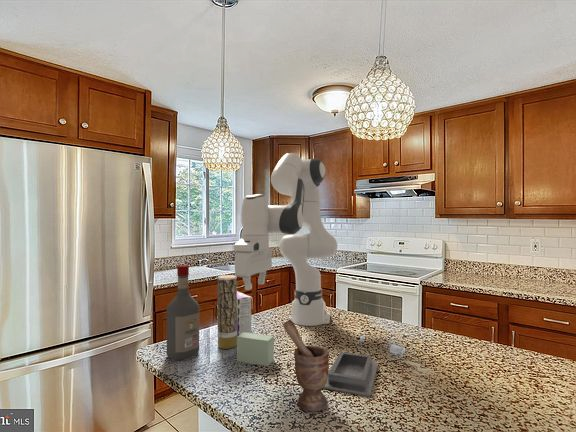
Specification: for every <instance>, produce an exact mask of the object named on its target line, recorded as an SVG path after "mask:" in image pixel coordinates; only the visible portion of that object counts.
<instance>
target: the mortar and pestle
mask: <svg viewBox="0 0 576 432" xmlns="http://www.w3.org/2000/svg"><path fill="white" fill-rule="evenodd" d="M282 326H283V328H284V330H285V332H286V334H287V336H288V337H289V338H290V339H291V341H292V342H293V343H294V346H295V347H296V348H295V349H294V352H293V354H294V355H293V357H294V371H295V372H294V373H295V377H296V380H297V384H298V385H299V386H300V387H301V388H302V390H303V391H301V393H300V394H299V396H298V398H297V406H298V407H299V408H300V409H302V410H304V411H306V412H318V411H319V412H320V411H325V410H326V409H327V407H328V401H327V397H326V395H325V394H324V392H322V390H323V387H324V385H325V384H326V382H327V378H328V372H329V370H330V366H329V365H330V363H329V361H330V360H329V359H330V358H329V357H330V353H329V350H328V349H327V348H326V347H324V346H321V345H315V344H314V345H305V342H304V341H303V339H302V337H301V335H300V332H299V331H298V328H297V327H296V324H295V323H293V322H292V321H291V320H289V319H288V320H287V321H285V322H283V324H282Z"/></svg>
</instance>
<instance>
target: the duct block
mask: <svg viewBox="0 0 576 432" xmlns="http://www.w3.org/2000/svg"><path fill="white" fill-rule="evenodd" d="M274 343H275V336H274V335H270V334H261V333H260V334H259V333H253V332H251V333H245V332H243V333H242V334H240V335H239V336H237V345H236V362H237V363H239V362H240V363H245V364H251V365H257V364H258V366H263V365H264V366H265V367H269V366H270V365H271V364H272V363H273V362H274V361H275V357H274V356H275V354H274V353H275V351H274V350H275V348H274V347H275V344H274Z"/></svg>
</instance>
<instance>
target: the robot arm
mask: <svg viewBox="0 0 576 432" xmlns="http://www.w3.org/2000/svg"><path fill="white" fill-rule="evenodd" d="M325 176H326V166H325V164H324V162H323V161H322V160H321V159H320V158H310V159H308V158H307V159H302V158H301V157H300V156H299V155H298V154H296V153H294V152H293V153H292V152H290V153H286V154H284V155H283V156H282V157H281V158H280V160H279V161H278V162H277V163H276V165H275V166H274V169H273V171H272V172H271V177H270V184H271V186H272V187H273V189H274V190H275V191H276V192H278V193H279V194H281V195H284V196H289V197H290V202H289V203H287V204H280V205H279V204H278V205H275V204H273V205H271V204H269V203H268V198H267V195H265V194H263V193H256V194H247V195H246V196H244V197H243V199H242V203H241V204H242V205H241V215H240V216H241V218H240V219H241V225H242V230H241V238H240V239H239V240H238V241H237V242H236V243H235V244H234V245H233V251H234V252H235V254H234V273H235V276H237V278H238V277H239V278H242V281H243V283H244V290H246V291H251V290H252V289H253V283H251V278H252V276H253V275H256V274H259V276H258V279H257V284H258V285H261V286H262V285H264V284H266V283H265V279H266V276H267V271H269V270H271V269H272V267H273V266H272V265H273V263H272V262H273V260H272V257H273V256H272V251H271V248H270V245H269V243H270V241H269V240H270V238H269V237H270V236H269V235H270V234H284V235H283V236H282V238H281V239H280V241H279V245H278V247H279V252H280V253H281V255H282V256H283V257H284V258H285V259H287V260H288V261H289V263H290V264H291V265H292V268H293V271H294V275H295V289H294V300H292V302H291V315H289V316H288V318H287V319H288V320H291V321H292V322H293V323H294V325H299V326H307V327H313V326H319V325H328V324H330V322H331V320H330V319H331V312H329V311H327V308H326V304H327V303H326V302H325V300H324V299H323V288H322V287H321V285H322V281H321V280H322V279H321V278H322V277H321V276H322V275H321V272H320V270H319V269H318V268H316V267H315V266H312V265H311V264H309V263H308V262H307V260H309V259H326V258H332V257H334V255H335V254H336V253H337V250H338V242H337V239H336V238H335V236H334V235H332V234H331V233H330V232H329V231H328V230H327V229H326V228H325V226H324V224H323V222H322V216H321V201H320V200H321V198H320V190H319V186H320V184H321V183H322V182H323V180H324V179H325ZM302 227H305V228H306V229H308V230H309V233H298V232H299V231H300V230H301V229H302Z"/></svg>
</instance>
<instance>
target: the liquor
mask: <svg viewBox="0 0 576 432" xmlns="http://www.w3.org/2000/svg"><path fill="white" fill-rule="evenodd" d="M176 268H177V272H176V273H177V292H176V294H175V295H176V296H174V298H173V299H172V300H171V301H170V302H169V303H168V305H167V307H166V356H167V357H168V358H169V359H171V360H173V361H175V362H178V361H179V362H181V361H182V362H184V361H187V360H189V359H192V358H195V357H197V356H198V354H199V352H200V305H199V303H198V301H197V300H195V298H194V297H193V296H192V295H191V294H190V291H189V275H190V274H189V272H190V269H189V265H186V264H184V265H183V264H182V265H177V266H176Z"/></svg>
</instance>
